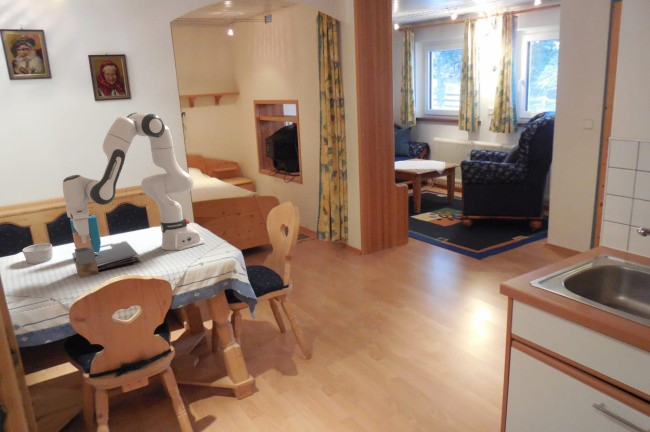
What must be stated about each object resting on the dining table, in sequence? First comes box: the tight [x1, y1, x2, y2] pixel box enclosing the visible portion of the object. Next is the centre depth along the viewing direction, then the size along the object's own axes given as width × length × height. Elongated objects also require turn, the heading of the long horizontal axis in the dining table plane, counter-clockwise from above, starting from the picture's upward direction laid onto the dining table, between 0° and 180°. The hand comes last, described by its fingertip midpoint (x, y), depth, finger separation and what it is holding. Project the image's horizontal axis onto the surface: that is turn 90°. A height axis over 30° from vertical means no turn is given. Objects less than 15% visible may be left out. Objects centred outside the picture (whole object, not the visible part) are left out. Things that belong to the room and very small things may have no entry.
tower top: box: [74, 246, 97, 265], centre depth 235 cm, size 7×7×6 cm
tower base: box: [75, 260, 99, 278], centre depth 237 cm, size 8×8×6 cm
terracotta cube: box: [72, 232, 91, 249], centre depth 233 cm, size 6×6×6 cm
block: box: [69, 214, 102, 252], centre depth 260 cm, size 12×5×20 cm, turn 120°
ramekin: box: [22, 242, 53, 265], centre depth 258 cm, size 13×13×7 cm
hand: (82, 241), depth 233 cm, fingers closed on terracotta cube, 6 cm apart
